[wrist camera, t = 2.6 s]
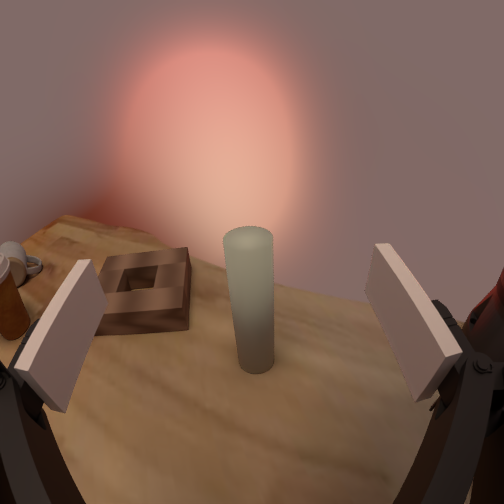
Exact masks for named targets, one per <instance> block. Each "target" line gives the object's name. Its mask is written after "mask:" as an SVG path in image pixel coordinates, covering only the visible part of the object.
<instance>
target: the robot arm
mask: <svg viewBox="0 0 504 504" xmlns="http://www.w3.org/2000/svg"><path fill="white" fill-rule="evenodd" d="M365 293H366V295H367V297H368V299H369V301H370V303H371V305H372V307H373V309H374V311H375V313H376V315H377V318H378V320H379V322H380V324H381V326H382V328H383V330H384V332H385V335H386V337H387V339H388V341H389V343H390V346H391V348H392V350H393V352H394V354H395V357H396V359H397V361H398V364H399V366H400V368H401V371H402V373H403V375H404V378H405V380H406V383H407V385H408V387H409V390H410V392H411V395H412V397H413V400H414V402H418V401H421V400H425V399H428V398H431V397H432V395H433V394H434V393H435V391H436V390H437V389H438V391H439V394H440V396H439V398H438V399H437V400H436V401H435V403H434V404H433V405H432V406H431V408H430V410H429V411H432V410H433V409H434V408H435V409H434V412H433V415H432V417H431V420H430V423H429V426H428V429H427V431H426V434H425V436H424V439H423V442H422V444H421V446H420V449H419V451H418V454H417V456H416V458H415V460H414V463H413V465H412V467H411V469H410V471H409V473H408V476H407V478H406V480H405V482H404V484H403V486H402V488H401V490H400V491H399V493H398V495H397V497H396V499H395V501H394V503H393V504H464V502H465V499H466V497H467V494H468V491H469V489H470V486H471V483H472V480H473V486H472V493H471V500H470V504H504V268H503V270H502V273H501V275H500V277H499V280H498V282H497V284H496V286H495V287H494V288H493V289H492V290H491V291H490V292H489V293H488V295H486V296H485V297H484V299H483V300H482V301H481V302H480V303H479V304H478V305H477V306H476V307H475V308H474V309H473V310H472V311H471V313H470V314H469V316H468V318H467V320H466V322H465V324H464V326H463V328H462V330H461V328H460V327H459V325H457V322H456V321H455V319H454V318H452V315H451V313H450V312H449V310H448V309H447V307H445V306H444V305H443V304H442V303H441V302H439V301H438V300H432V301H431V300H430V299H429V297H428V296H427V294H426V293H425V292H424V290H423V289H422V287H421V286H420V284H419V283H418V282H417V280H416V279H415V277H414V276H413V275H412V273H411V272H410V270H409V269H408V268H407V266H406V265H405V264H404V262H403V261H402V260H401V258H400V257H399V256H398V254H397V253H396V252H395V250H394V249H393V248H392V246H391V245H390V244H389V243H386V244H385V243H384V244H375V245H374V250H373V255H372V260H371V265H370V269H369V274H368V278H367V283H366V287H365ZM107 305H108V302H107V299H106V297H105V294H104V292H103V289H102V287H101V284H100V282H99V279H98V276H97V274H96V271H95V268H94V266H93V263H92V260H91V259H87V260H78V261H77V263H76V264H75V266H74V267H73V269H72V270H71V272H70V273H69V274H68V276H67V277H66V279H65V280H64V282H63V283H62V285H61V286H60V288H59V290H58V291H57V293H56V294H55V296H54V297H53V299H52V300H51V302H50V304H49V305H48V307H47V309H46V310H45V312H44V314H43V315H42V317H41V319H37V320H36V321H35V322H34V323H33V324H32V325H31V326H30V328H29V329H28V331H27V333H26V335H25V337H24V338H23V340H22V342H21V345H19V347H18V349H17V351H16V353H15V355H14V357H13V359H12V361H11V363H10V365H9V367H8V369H7V368H6V367H5V366H4V365H3V363H2V362H1V361H0V504H86V503H85V501H84V499H83V498H82V496H81V494H80V492H79V490H78V488H77V486H76V484H75V482H74V480H73V478H72V476H71V474H70V472H69V470H68V468H67V466H66V464H65V461H64V459H63V457H62V455H61V452H60V450H59V448H58V445H57V443H56V440H55V438H54V435H53V432H52V430H51V427H50V424H49V421H48V419H47V416H46V413H45V411H44V409H43V408H42V406H43V403H45V404H46V405H47V406H48V407H49V408H50V409H51V410H54V411H58V412H62V413H66V410H67V407H68V404H69V401H70V398H71V395H72V392H73V389H74V386H75V384H76V381H77V378H78V375H79V373H80V370H81V367H82V365H83V362H84V360H85V357H86V354H87V352H88V349H89V347H90V345H91V342H92V340H93V337H94V335H95V332H96V330H97V328H98V325H99V323H100V321H101V319H102V316H103V314H104V312H105V310H106V307H107ZM473 477H474V479H473Z"/></svg>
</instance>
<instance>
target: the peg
mask: <svg viewBox="0 0 504 504" xmlns="http://www.w3.org/2000/svg"><path fill="white" fill-rule="evenodd" d="M223 245H224V254H225V262H226V270H227V278H228V286H229V293H230V301H231V308H232V316H233V323H234V330H235V337H236V344H237V351H238V358H239V364H240V366H241V368H242V369H243V370H244V371H246V372H248V373H251V374H260V373H264V372H266V371H268V370H269V369H270V368H271V367H272V365H273V363H274V277H273V276H274V275H273V273H274V272H273V235H272V234H271V232H270V231H268V230H266V229H264V228H261V227H256V226H245V227H239V228H236V229H233V230H231V231H229V232H228V233H226V235H225V236H224V237H223Z"/></svg>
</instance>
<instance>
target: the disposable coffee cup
mask: <svg viewBox="0 0 504 504" xmlns="http://www.w3.org/2000/svg"><path fill="white" fill-rule="evenodd" d="M29 324H30V318H29V316H28V313H27V311H26V309H25V307H24V304H23V302H22V299H21V297H20V294H19V292H18V289H17V287H16V284H15V281H14V279H13V276H12V273H11V270H10V261H9V259H7V258H6V257H5V256H4V255H3V254H2V253H0V333H1V334H2V335H3V336H4V338H5V339H7V340H14V339H17V338H18V337H20V336H21V335H23V334H24V333H25V331H26V330H27V329H28V327H29Z"/></svg>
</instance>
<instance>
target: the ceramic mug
mask: <svg viewBox="0 0 504 504" xmlns="http://www.w3.org/2000/svg"><path fill="white" fill-rule="evenodd" d="M0 253H2V254H3V255H4V256H5V257H6V258H7V259H9V261H10V270H11V273H12V276H13V279H14V281H15V284H16V287H19V286H20V285H21V284H22V283H23V282H24V280H25V278H26V275H27V274H29V275H30V274H36V273H38V272H40V271H41V269H42V261H41V260H40V259H39V258H37V257H35V256H28V255H26V252H25V250H24V248H23V247H22V246H21V245H20V244H18V243H16V242H11V241H10V242H6V243H4V244H2V245H1V246H0ZM27 262H31V263H36V264H38V265H39V266H37V267H32V268H27Z"/></svg>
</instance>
